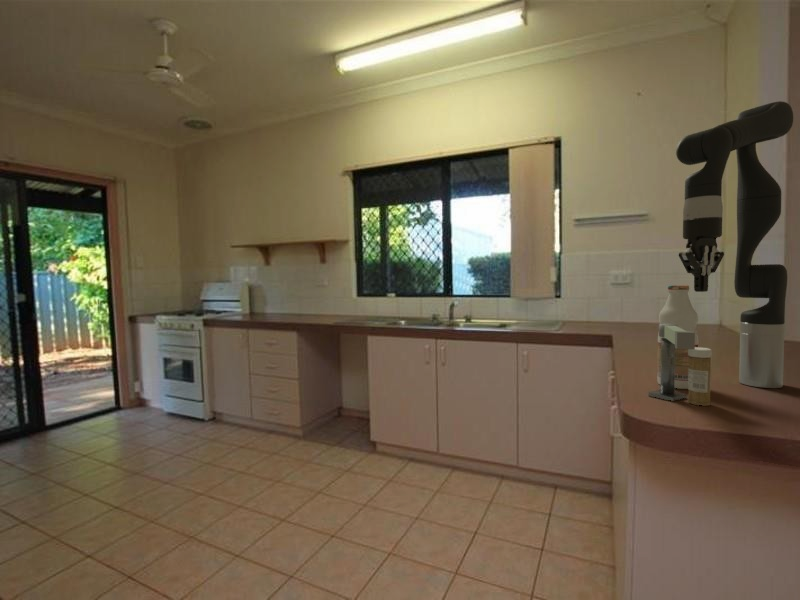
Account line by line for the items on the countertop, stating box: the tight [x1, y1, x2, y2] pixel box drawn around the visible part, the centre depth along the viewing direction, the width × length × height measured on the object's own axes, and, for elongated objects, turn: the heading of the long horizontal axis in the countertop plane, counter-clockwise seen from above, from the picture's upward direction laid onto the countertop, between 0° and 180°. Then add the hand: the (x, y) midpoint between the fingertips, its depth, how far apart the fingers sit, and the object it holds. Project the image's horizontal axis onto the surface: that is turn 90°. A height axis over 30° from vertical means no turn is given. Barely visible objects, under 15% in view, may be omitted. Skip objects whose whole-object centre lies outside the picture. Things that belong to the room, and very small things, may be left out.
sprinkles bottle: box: [687, 346, 713, 407], centre depth 100 cm, size 5×5×14 cm
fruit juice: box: [656, 284, 699, 390], centre depth 117 cm, size 9×9×28 cm
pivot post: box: [648, 338, 687, 402], centre depth 106 cm, size 6×6×15 cm
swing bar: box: [658, 323, 695, 350], centre depth 99 cm, size 20×4×4 cm, turn 158°
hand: (700, 291), depth 99 cm, fingers closed
